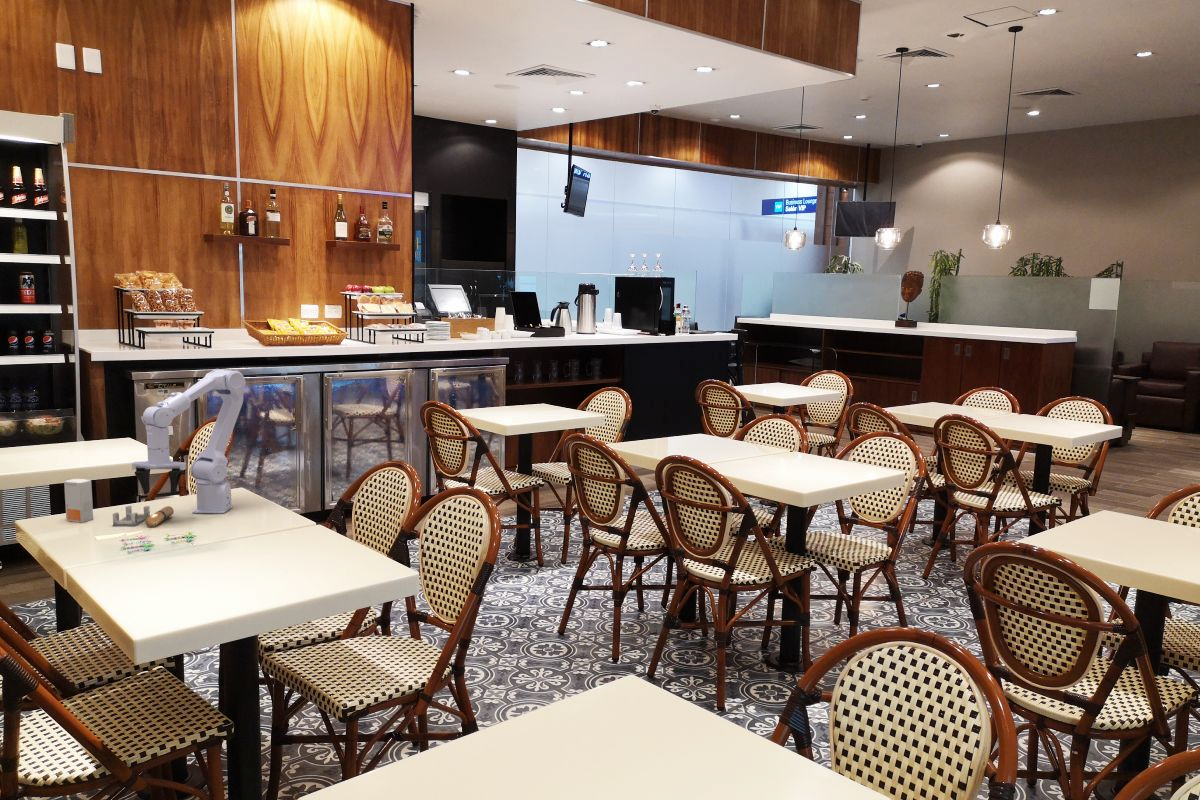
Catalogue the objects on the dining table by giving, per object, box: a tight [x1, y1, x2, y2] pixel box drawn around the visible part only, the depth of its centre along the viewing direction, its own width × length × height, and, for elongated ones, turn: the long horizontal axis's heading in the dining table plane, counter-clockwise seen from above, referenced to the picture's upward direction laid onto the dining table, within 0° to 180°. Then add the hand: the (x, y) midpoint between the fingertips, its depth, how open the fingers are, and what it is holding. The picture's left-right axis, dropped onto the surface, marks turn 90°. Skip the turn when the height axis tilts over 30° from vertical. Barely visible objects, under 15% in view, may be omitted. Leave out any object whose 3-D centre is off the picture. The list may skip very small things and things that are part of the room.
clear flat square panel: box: [94, 530, 195, 554], centre depth 244 cm, size 30×30×2 cm
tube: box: [144, 505, 175, 528], centre depth 264 cm, size 12×3×3 cm, turn 3°
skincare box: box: [63, 478, 94, 524], centre depth 263 cm, size 6×4×12 cm
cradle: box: [112, 505, 151, 527], centre depth 263 cm, size 6×10×4 cm, turn 3°
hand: (160, 493), depth 263 cm, fingers open, 7 cm apart
